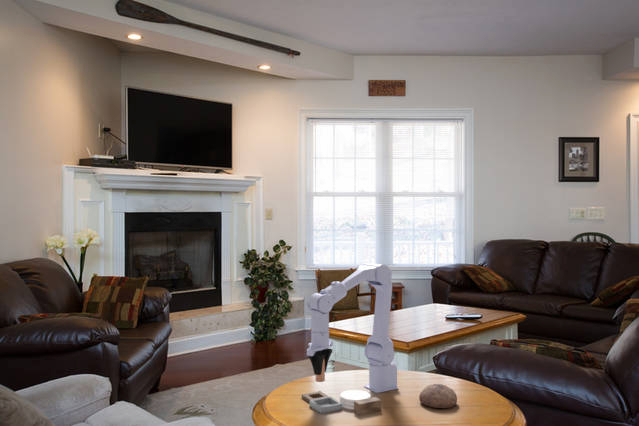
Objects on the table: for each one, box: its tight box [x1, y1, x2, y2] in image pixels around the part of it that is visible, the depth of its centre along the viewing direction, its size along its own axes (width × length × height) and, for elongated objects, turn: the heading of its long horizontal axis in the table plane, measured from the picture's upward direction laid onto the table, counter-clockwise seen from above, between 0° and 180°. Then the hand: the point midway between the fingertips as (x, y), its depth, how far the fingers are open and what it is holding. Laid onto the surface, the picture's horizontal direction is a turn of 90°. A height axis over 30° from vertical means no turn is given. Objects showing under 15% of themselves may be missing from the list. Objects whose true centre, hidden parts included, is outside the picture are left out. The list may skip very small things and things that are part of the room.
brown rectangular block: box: [353, 396, 382, 416], centre depth 167 cm, size 8×3×4 cm, turn 118°
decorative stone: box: [418, 383, 458, 409], centre depth 174 cm, size 12×12×6 cm
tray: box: [309, 396, 343, 415], centre depth 170 cm, size 8×8×2 cm
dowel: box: [314, 359, 326, 383], centre depth 174 cm, size 3×3×7 cm
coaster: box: [339, 389, 372, 411], centre depth 173 cm, size 10×10×4 cm
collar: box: [301, 390, 330, 404], centre depth 178 cm, size 7×7×1 cm
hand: (320, 373), depth 174 cm, fingers closed on dowel, 3 cm apart
